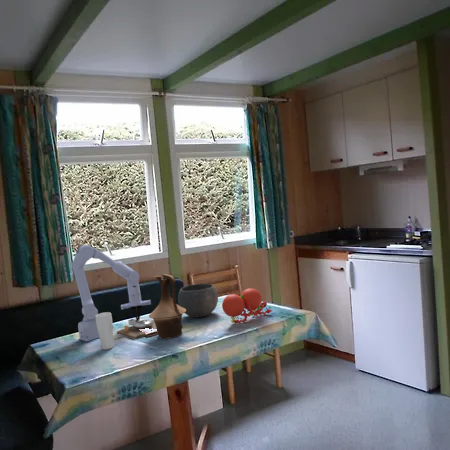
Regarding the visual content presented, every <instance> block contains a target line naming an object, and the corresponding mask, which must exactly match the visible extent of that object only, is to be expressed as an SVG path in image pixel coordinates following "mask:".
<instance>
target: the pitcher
mask: <svg viewBox="0 0 450 450" xmlns="http://www.w3.org/2000/svg"><path fill="white" fill-rule="evenodd" d="M152 278H153V279H156V280H157V281H158V282H159V285H160V292H161V293H160V295H161V297H160V300H159V303H158V305H157V306H156V308H155V309H153V311H152V312H150V313H149V315H148V318H150V319H151V320H154V322H155V324H156V328H157V331H158V332H157V337H158V338H159V339H171V338H177V337H179V336H181V335H182V334H183V331H182V330H183V329H182V328H183V327H182V323H183V322H182V319H183V314H185V312H186V309H185V308H183V307H181V306H179V304H178V303H177V297H176V296H177V282H176V279H175V277H174V276H173V275H171V274H167V273H163V274H159V275H155V276H152ZM171 284H172V285H171ZM170 285H171V288H172V290H171V291H172V297H171V293H170Z"/></svg>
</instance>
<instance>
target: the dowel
mask: <svg viewBox="0 0 450 450" xmlns="http://www.w3.org/2000/svg"><path fill="white" fill-rule="evenodd" d="M128 327H129V325H124V327H123V329H125V333H128V332H129V329H128Z"/></svg>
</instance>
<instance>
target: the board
mask: <svg viewBox="0 0 450 450" xmlns="http://www.w3.org/2000/svg"><path fill="white" fill-rule="evenodd" d="M151 320H152V321H153V325H152V326H150V327H147V328H149V329H152V328H153V329H157V328H156V324H155V322H154V319H151ZM128 329H129V332H128V333H125V328H122V329H119V330H116V334H117V335H121V336H123V337H126V338H129V339H130V338H131V339H133V340H138V339H141V338H143V337H146V336H145V332H142V331H140V330H139V329H137V328H134V326H133V325H130V326H128ZM140 329H145V328H140ZM151 331H152V330H151Z"/></svg>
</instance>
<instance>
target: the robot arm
mask: <svg viewBox="0 0 450 450" xmlns="http://www.w3.org/2000/svg"><path fill="white" fill-rule="evenodd" d="M91 259H96V260H100V261H101V262H104V263H105V264H107V265H108V266H110V267H112V271H113V273H115V274H117V275H119V276H120V277H122V278H123V279H124V280H126V283H127V284H126V285H127V286H126V287H127V293H128V303H124V304H121V305H120V310H125V309H130V310H131V313H133V315H134V317H135V320H140V319H141V318H140V317H141V313H142V308H143V306H148V305H152V301H151V299H148V300H142V295H141V289H140V284H139V283H140V282H139V279H140V275H139V273H138V271H136V270H134V269H133V267H131V266H130V267H129V266H128V265H126V264H125V262H124V261H122V260H121V261H120V260H118V261H116V260H114V259H113V258H111V257H110V256H109V255H106V253H104V252H103V251H101V250H100V249H97V248H95V247H92V246H91V245H88V244H82V245H80V246H79V247H78V249H76V251H75V255H74V257H73V261H72V264H71V267H72V269H73V274H74V277H75V278H74V279H75V282H76V286H77V290H78V291H79V295H80V300H81V305H82V308H81V313H82V315H83V318H82V321H80V322H78V325H77V329H78V335H79V337H78V338H79V340H81V341H84V342H89V341H93V340H96V339H98V338H99V334H98V329H97V325H96V317H95V316H96V315H97V314H99V310H98V309H97V308H96V306H95V304H94V301H93V299H92V295H91V291H90V287H89V284H88V280H87V275H86V273H85V269H84V266H85V265H86V263H87V262H88V261H90V260H91ZM140 321H141V320H140ZM99 339H100V338H99Z"/></svg>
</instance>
